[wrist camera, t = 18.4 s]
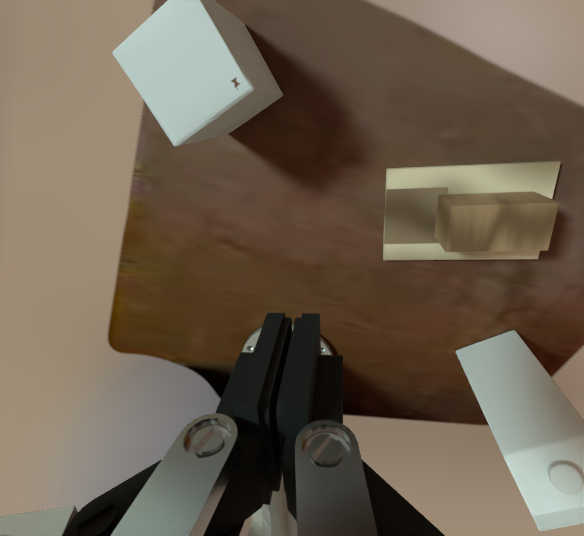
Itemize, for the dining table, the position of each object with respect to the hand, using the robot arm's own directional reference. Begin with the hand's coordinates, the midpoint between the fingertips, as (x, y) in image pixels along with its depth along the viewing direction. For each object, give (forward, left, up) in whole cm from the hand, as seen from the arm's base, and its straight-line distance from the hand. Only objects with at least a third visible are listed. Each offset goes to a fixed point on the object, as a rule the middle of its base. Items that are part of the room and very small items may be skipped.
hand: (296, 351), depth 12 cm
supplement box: (+10, +9, -29) cm, 32 cm away
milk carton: (-23, -20, -29) cm, 42 cm away
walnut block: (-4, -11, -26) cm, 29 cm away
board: (-4, -14, -29) cm, 32 cm away
